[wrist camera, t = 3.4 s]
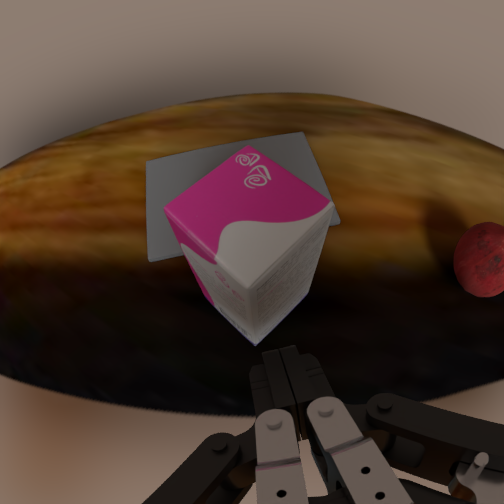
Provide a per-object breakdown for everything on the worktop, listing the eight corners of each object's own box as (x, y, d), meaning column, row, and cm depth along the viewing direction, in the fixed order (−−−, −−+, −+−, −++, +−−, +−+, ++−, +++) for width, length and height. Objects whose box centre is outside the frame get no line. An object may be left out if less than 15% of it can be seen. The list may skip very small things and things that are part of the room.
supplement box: (311, 291, 24) (340, 204, 14) (255, 348, 22) (243, 298, 12) (256, 244, 26) (248, 139, 16) (201, 294, 24) (154, 210, 14)
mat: (302, 135, 31) (302, 131, 31) (339, 224, 26) (340, 221, 26) (147, 164, 31) (146, 161, 30) (150, 262, 26) (148, 259, 25)
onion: (467, 323, 22) (526, 288, 15) (426, 273, 24) (474, 223, 17) (497, 282, 23) (549, 241, 16) (460, 237, 25) (503, 186, 18)
